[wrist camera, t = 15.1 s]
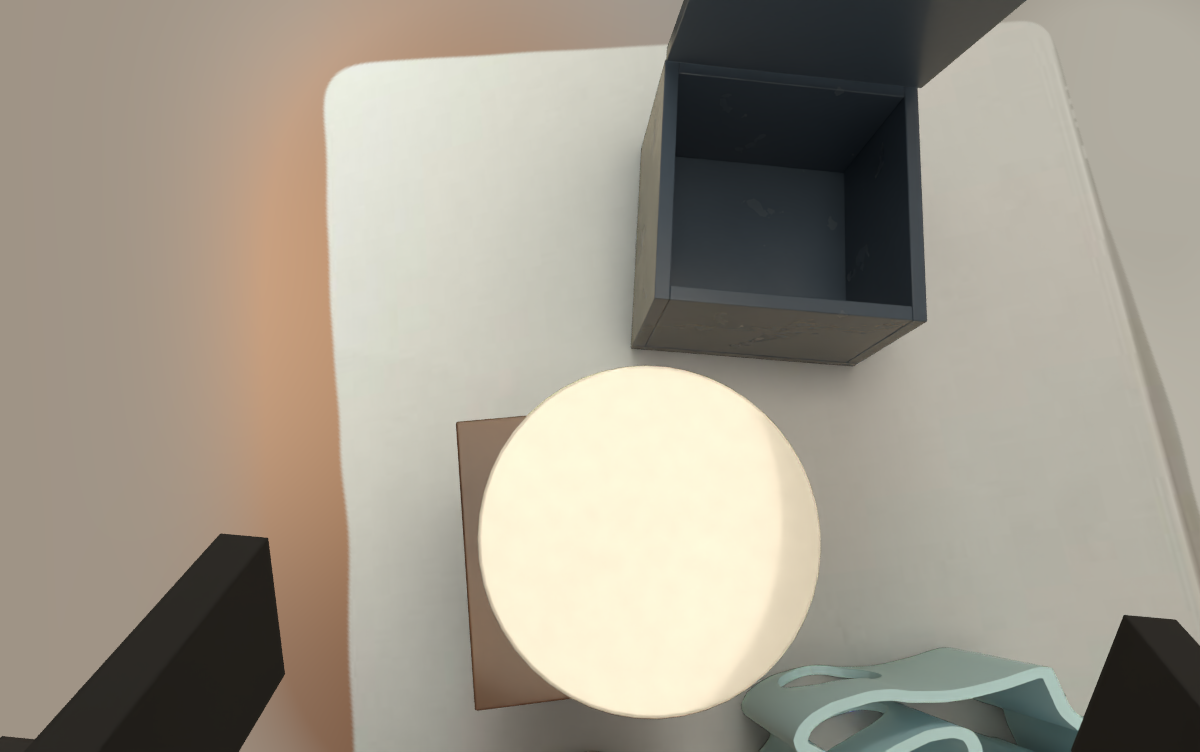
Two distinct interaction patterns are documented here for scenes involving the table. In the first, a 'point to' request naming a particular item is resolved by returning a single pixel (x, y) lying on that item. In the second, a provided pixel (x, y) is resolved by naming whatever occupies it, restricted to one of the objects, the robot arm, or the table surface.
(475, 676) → the stand
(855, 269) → the grey box
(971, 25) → the box lid
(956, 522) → the table surface
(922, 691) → the squiggly pen holder
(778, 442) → the beige canister
